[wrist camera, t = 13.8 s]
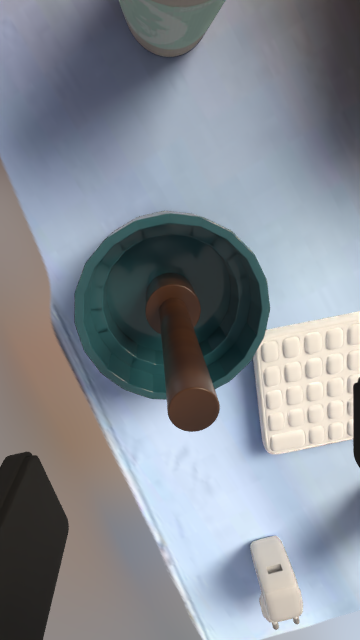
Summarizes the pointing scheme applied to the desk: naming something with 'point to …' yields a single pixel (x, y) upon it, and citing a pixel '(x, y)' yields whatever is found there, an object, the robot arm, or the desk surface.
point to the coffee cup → (169, 23)
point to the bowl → (130, 299)
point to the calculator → (308, 382)
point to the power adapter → (276, 581)
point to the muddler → (181, 352)
